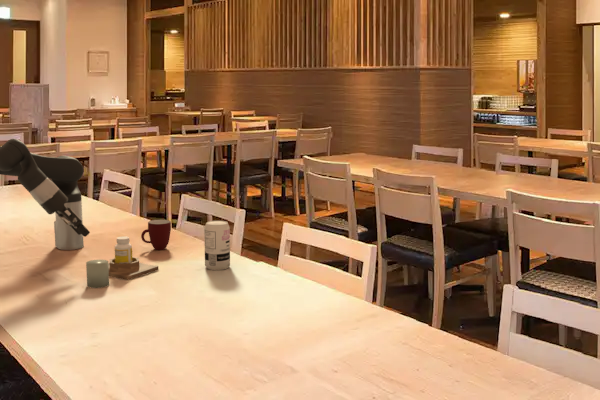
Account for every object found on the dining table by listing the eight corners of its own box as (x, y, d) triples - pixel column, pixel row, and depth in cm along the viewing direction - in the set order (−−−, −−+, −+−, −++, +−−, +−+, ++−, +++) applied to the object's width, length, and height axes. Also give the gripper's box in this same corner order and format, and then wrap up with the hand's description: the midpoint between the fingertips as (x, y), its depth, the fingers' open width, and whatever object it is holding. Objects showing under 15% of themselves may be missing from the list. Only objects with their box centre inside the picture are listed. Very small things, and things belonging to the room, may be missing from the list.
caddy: (90, 272, 225) (90, 261, 224) (122, 262, 236) (122, 252, 236) (127, 280, 216) (126, 269, 216) (158, 269, 228) (158, 259, 228)
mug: (145, 253, 249) (145, 225, 247) (139, 248, 256) (138, 221, 254) (174, 250, 254) (173, 222, 252) (167, 245, 261) (166, 218, 259)
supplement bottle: (124, 264, 230) (124, 235, 228) (136, 267, 227) (135, 237, 225) (111, 267, 226) (110, 237, 224) (122, 270, 223) (122, 240, 221)
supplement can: (205, 264, 236) (204, 220, 233) (230, 263, 236) (229, 220, 234) (204, 270, 228) (203, 225, 225) (229, 270, 228) (229, 225, 226)
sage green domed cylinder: (82, 285, 211) (81, 263, 209) (98, 280, 216) (97, 258, 215) (97, 289, 207) (96, 266, 206) (113, 283, 213) (112, 261, 212)
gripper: (35, 203, 222) (71, 240, 227) (42, 204, 209) (80, 243, 215) (54, 187, 224) (88, 224, 230) (62, 187, 212) (98, 227, 217)
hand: (84, 233), depth 222 cm, fingers open, 8 cm apart
